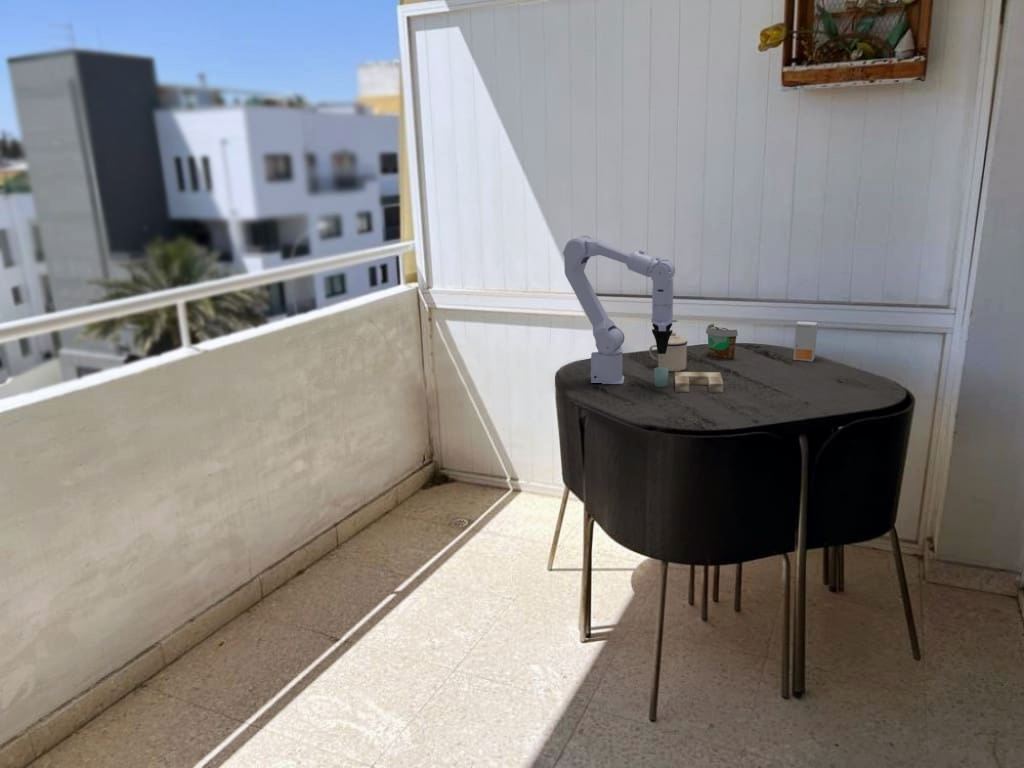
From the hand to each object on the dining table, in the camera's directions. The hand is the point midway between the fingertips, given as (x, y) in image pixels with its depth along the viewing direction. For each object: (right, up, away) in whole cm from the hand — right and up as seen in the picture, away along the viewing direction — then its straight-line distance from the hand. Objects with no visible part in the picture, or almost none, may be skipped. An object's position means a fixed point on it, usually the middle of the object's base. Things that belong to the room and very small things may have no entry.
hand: (661, 350), depth 209 cm
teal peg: (0, -10, +3) cm, 10 cm away
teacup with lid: (+6, -5, +21) cm, 22 cm away
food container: (+25, -1, +31) cm, 39 cm away
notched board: (+11, -10, 0) cm, 15 cm away
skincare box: (+51, -2, +24) cm, 56 cm away
